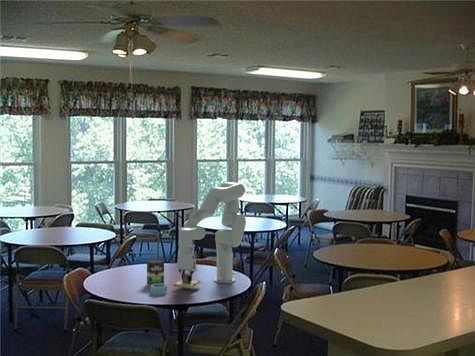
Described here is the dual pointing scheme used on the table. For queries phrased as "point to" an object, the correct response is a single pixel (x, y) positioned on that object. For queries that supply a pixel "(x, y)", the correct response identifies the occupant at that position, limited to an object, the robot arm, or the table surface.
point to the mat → (185, 289)
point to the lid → (186, 282)
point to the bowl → (158, 289)
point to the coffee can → (155, 271)
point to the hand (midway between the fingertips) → (186, 281)
